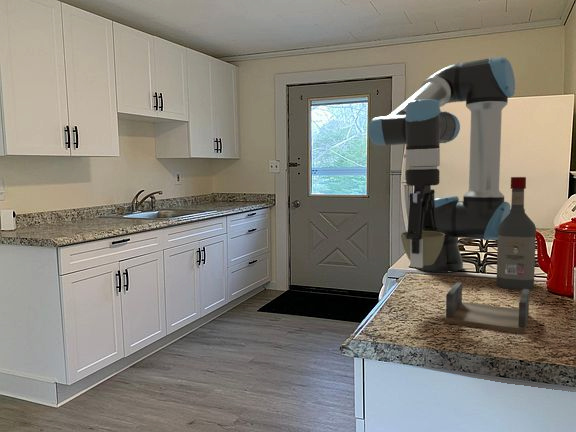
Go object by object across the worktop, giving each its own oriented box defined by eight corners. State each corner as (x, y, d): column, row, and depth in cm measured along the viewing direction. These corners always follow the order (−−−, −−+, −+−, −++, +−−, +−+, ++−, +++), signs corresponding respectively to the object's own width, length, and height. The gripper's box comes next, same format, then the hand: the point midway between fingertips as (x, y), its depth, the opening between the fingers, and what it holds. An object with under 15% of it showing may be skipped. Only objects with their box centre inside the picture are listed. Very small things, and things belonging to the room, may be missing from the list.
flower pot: (447, 268, 108) (447, 237, 107) (401, 268, 110) (401, 237, 109) (442, 259, 117) (442, 230, 116) (400, 258, 119) (400, 230, 118)
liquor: (533, 291, 126) (537, 177, 123) (495, 288, 130) (498, 177, 127) (534, 283, 134) (537, 176, 131) (498, 280, 138) (501, 176, 135)
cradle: (457, 305, 115) (457, 281, 114) (528, 314, 107) (529, 288, 107) (445, 322, 103) (445, 295, 102) (524, 333, 95) (525, 304, 95)
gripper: (418, 167, 122) (418, 252, 125) (391, 170, 103) (392, 271, 105) (449, 166, 119) (448, 254, 121) (427, 169, 99) (426, 274, 102)
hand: (422, 262), depth 113 cm, fingers closed on flower pot, 10 cm apart
